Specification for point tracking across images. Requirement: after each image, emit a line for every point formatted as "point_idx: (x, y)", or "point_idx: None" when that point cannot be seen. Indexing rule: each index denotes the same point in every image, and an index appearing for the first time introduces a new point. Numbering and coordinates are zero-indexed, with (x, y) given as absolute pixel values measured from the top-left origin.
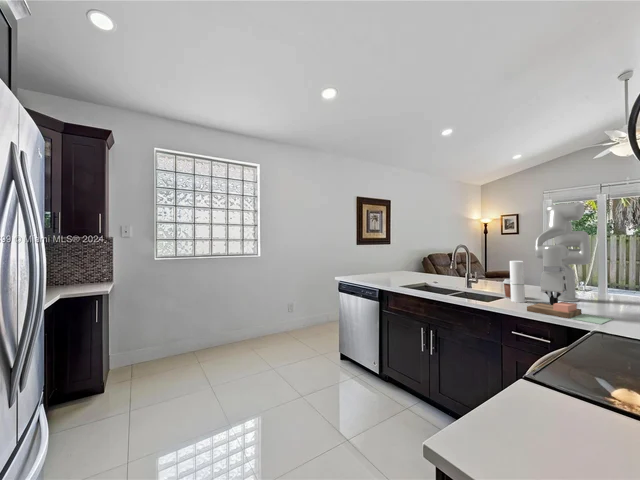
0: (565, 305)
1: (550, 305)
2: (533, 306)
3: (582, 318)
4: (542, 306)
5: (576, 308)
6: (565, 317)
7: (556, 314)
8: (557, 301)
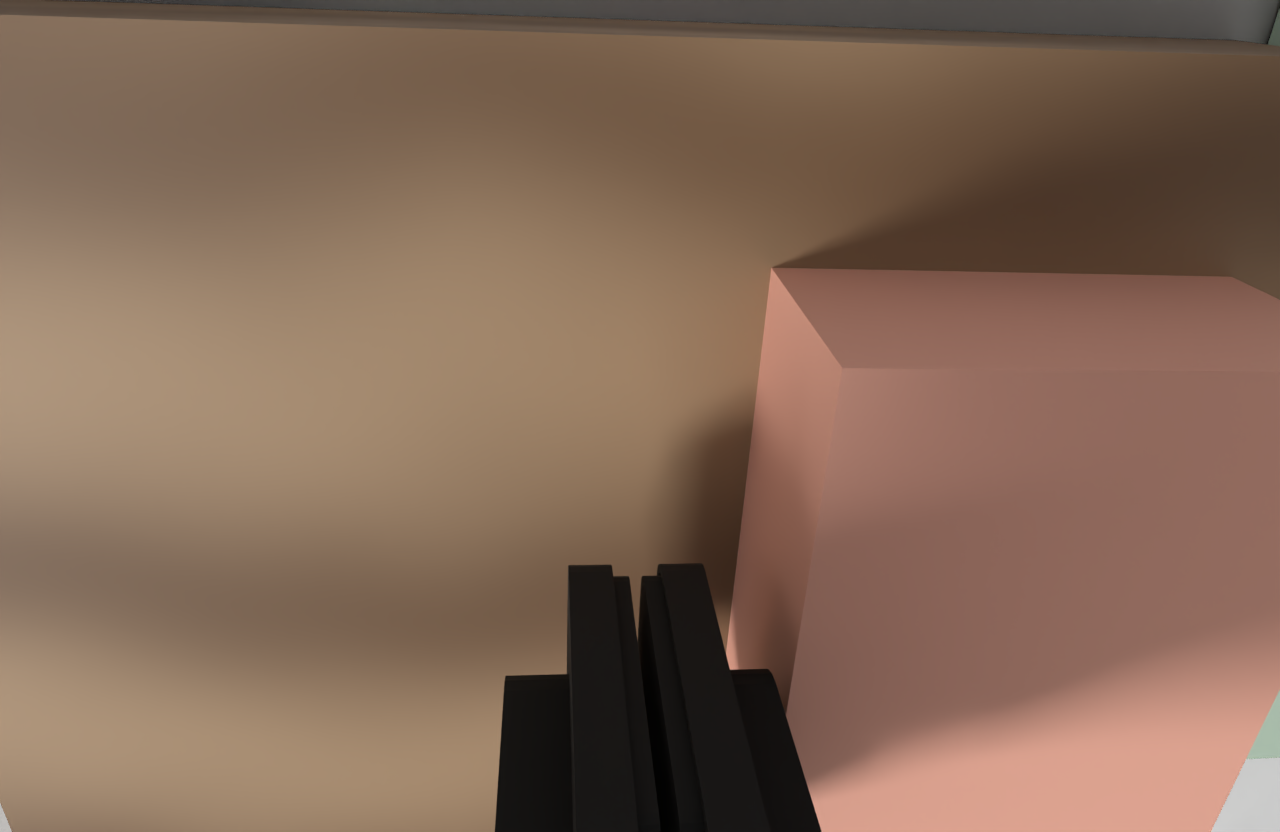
0: None
1: (325, 242)
2: (142, 811)
3: None
4: (280, 627)
5: (1259, 303)
6: None
7: None
8: (783, 753)
